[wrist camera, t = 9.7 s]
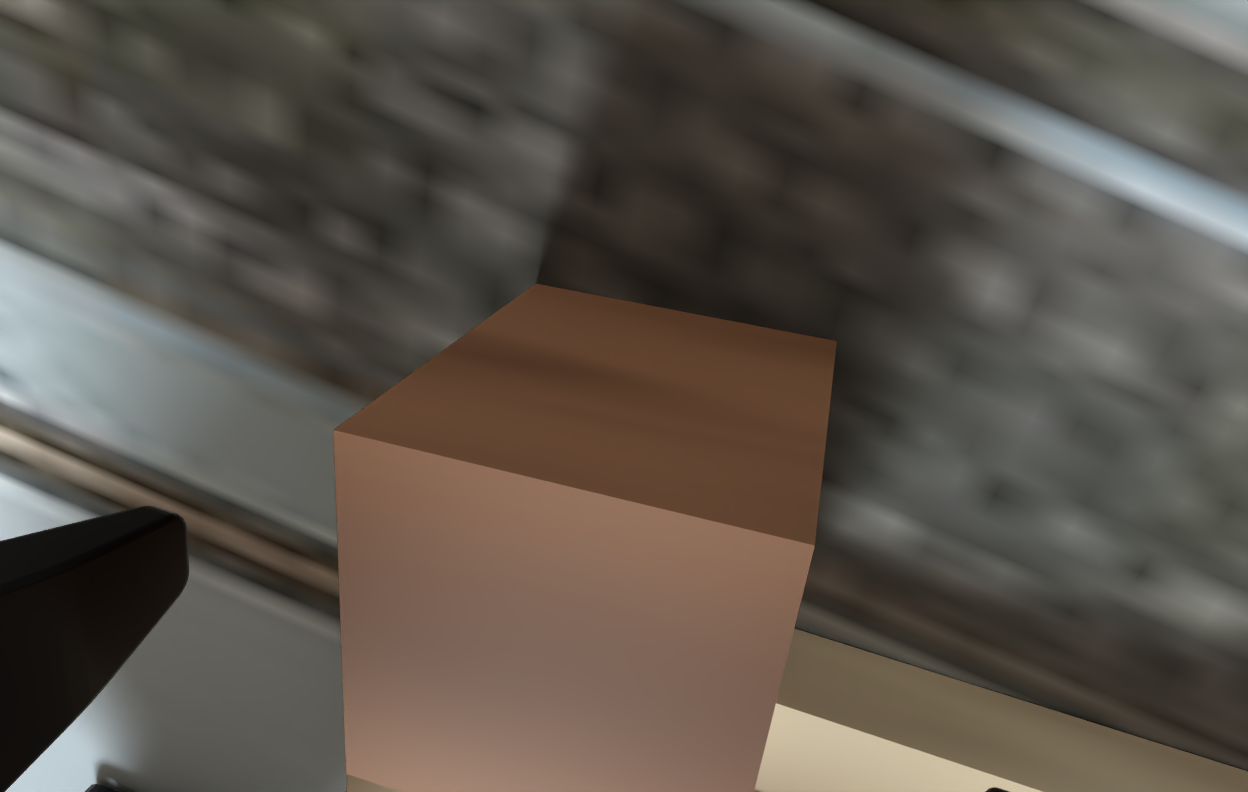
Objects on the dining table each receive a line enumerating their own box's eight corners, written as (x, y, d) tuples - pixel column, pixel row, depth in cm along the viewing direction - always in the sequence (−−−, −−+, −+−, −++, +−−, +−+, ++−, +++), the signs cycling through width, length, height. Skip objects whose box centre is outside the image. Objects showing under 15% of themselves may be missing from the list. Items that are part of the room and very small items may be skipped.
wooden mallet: (712, 874, 18) (648, 1217, 13) (499, 804, 19) (358, 1098, 14) (837, 340, 13) (814, 545, 8) (537, 283, 14) (333, 429, 9)
